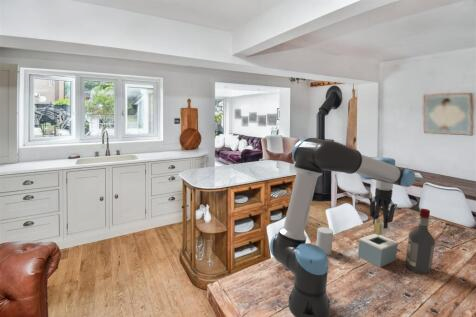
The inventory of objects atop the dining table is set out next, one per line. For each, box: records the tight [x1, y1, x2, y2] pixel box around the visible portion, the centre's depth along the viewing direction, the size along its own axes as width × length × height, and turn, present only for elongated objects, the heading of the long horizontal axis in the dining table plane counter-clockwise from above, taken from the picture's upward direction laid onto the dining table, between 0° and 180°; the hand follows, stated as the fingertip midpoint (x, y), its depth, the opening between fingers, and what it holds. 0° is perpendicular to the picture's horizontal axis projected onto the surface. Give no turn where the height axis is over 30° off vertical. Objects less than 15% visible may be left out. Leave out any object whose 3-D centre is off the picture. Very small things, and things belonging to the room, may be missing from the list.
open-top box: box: [357, 233, 399, 268], centre depth 136 cm, size 14×12×10 cm
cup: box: [315, 226, 334, 256], centre depth 143 cm, size 8×8×12 cm
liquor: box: [405, 208, 436, 275], centre depth 126 cm, size 9×9×30 cm
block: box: [373, 219, 387, 236], centre depth 135 cm, size 6×3×6 cm, turn 120°
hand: (379, 232), depth 135 cm, fingers closed on block, 3 cm apart
